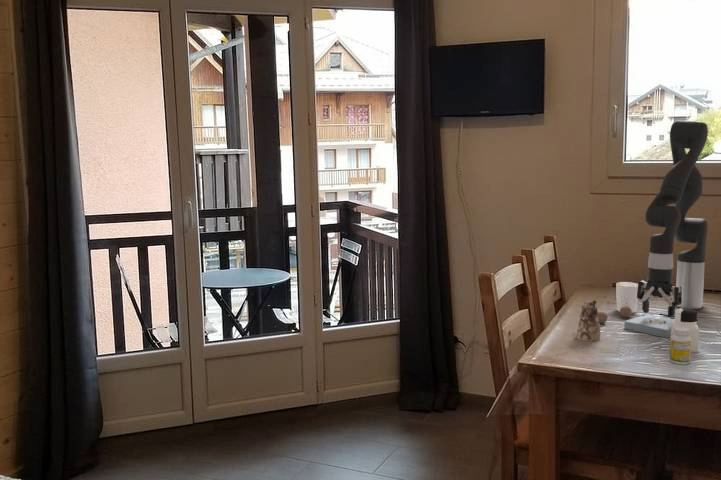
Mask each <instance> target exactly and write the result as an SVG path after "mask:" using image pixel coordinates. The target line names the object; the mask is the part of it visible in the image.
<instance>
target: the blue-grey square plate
mask: <svg viewBox="0 0 721 480" xmlns="http://www.w3.org/2000/svg"><path fill="white" fill-rule="evenodd" d="M655 317H659V318H661V319H662V320H663V321H664V324H655V323H651V321H652V319H653V318H655ZM674 319H675V318H672V317H671V318H670V317H665V316H659V315H655V314H650V313H649V314H648V313H646V314H644V315H641V316H638V317H634V318H630V319H627V320H624V323H623V324H624V326H623V329H624V330H629V331H634V332H639V333H643V334H648V335H651V336H652V335H653V336H657V337H662V338H666V339H667V338H671V323H672V322H674Z"/></svg>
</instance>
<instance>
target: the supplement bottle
mask: <svg viewBox="0 0 721 480" xmlns="http://www.w3.org/2000/svg"><path fill="white" fill-rule="evenodd" d="M674 334H675V335H672V336H671V337H670V340H671V343H670V342H669V343H670V347H669V361H670V363H672V364H675V365H689V364H690V363H691V356H692V355H691V353H692V352H691V338H690V337H689V336H688V335H689V329H687V328H682V327H676V328H674Z"/></svg>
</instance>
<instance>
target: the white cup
mask: <svg viewBox="0 0 721 480" xmlns="http://www.w3.org/2000/svg"><path fill="white" fill-rule="evenodd" d="M615 284H616V285H615V286H616V288H615V289H616V290H615V291H616V293H615V294H616V295H615V297H616V310H617V312H619V313H620V309H621V308H622V307H624V306H628V307H630V308H631V310H632V314H633V313H636V312H637V310H638V309H637V308H638V303H639V302H638V301H639V299H638V298H637V291H638V282H637V283H635V282H628V281H626V282H625V281H619V282H616V283H615Z"/></svg>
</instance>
